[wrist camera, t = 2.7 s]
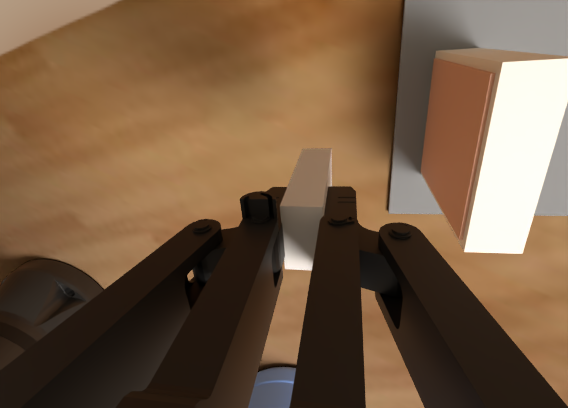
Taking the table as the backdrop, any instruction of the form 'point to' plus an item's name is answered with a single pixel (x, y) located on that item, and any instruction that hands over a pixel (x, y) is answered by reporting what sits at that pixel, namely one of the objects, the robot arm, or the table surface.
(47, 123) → the table surface
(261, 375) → the water jug
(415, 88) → the rubber mat
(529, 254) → the table surface
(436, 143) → the wooden plaque
